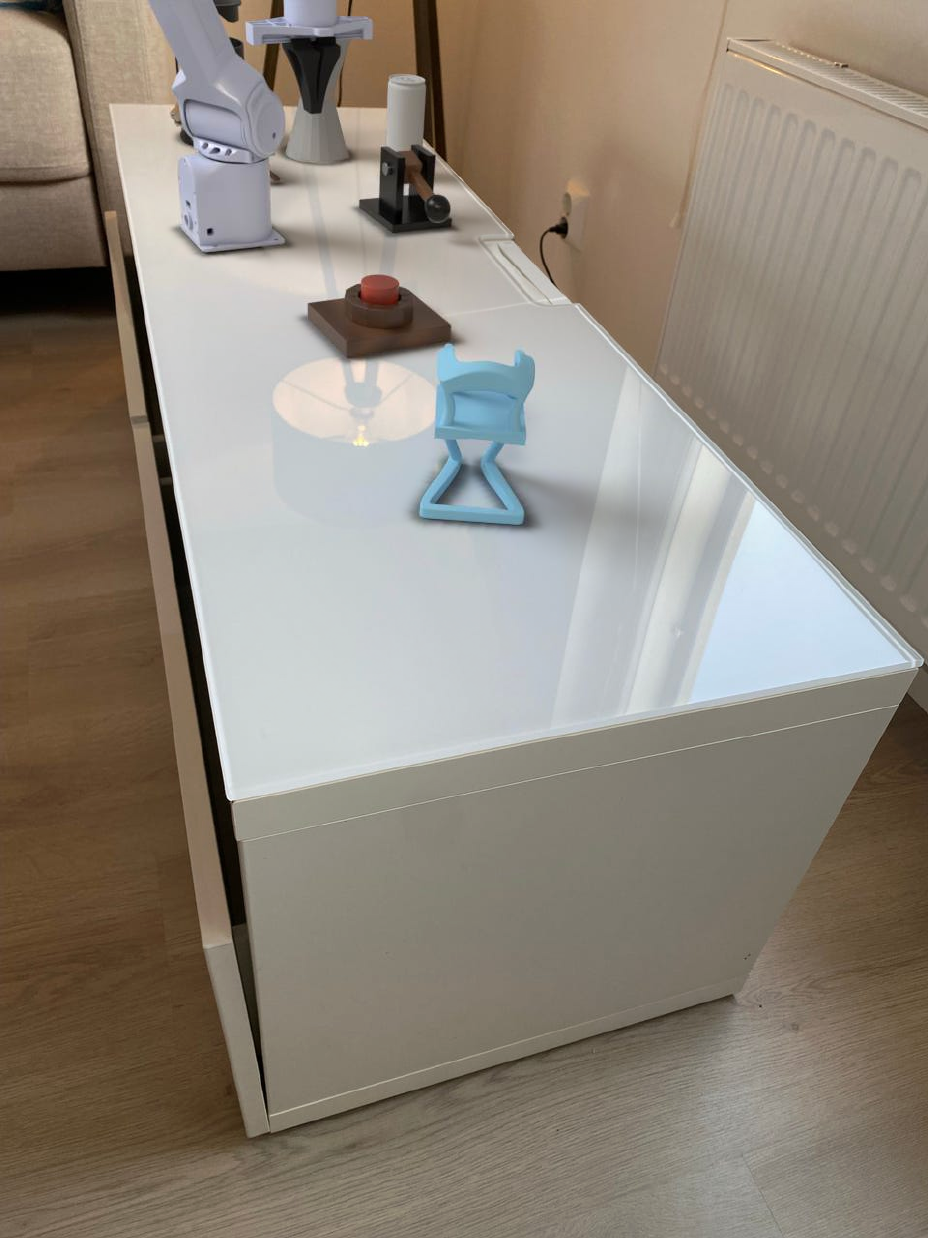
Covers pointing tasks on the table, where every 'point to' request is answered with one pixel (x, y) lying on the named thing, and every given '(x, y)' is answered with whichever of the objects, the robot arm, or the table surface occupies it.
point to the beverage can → (405, 111)
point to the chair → (479, 428)
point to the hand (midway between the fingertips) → (312, 111)
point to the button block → (377, 323)
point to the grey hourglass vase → (320, 125)
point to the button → (379, 289)
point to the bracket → (402, 194)
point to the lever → (425, 189)
